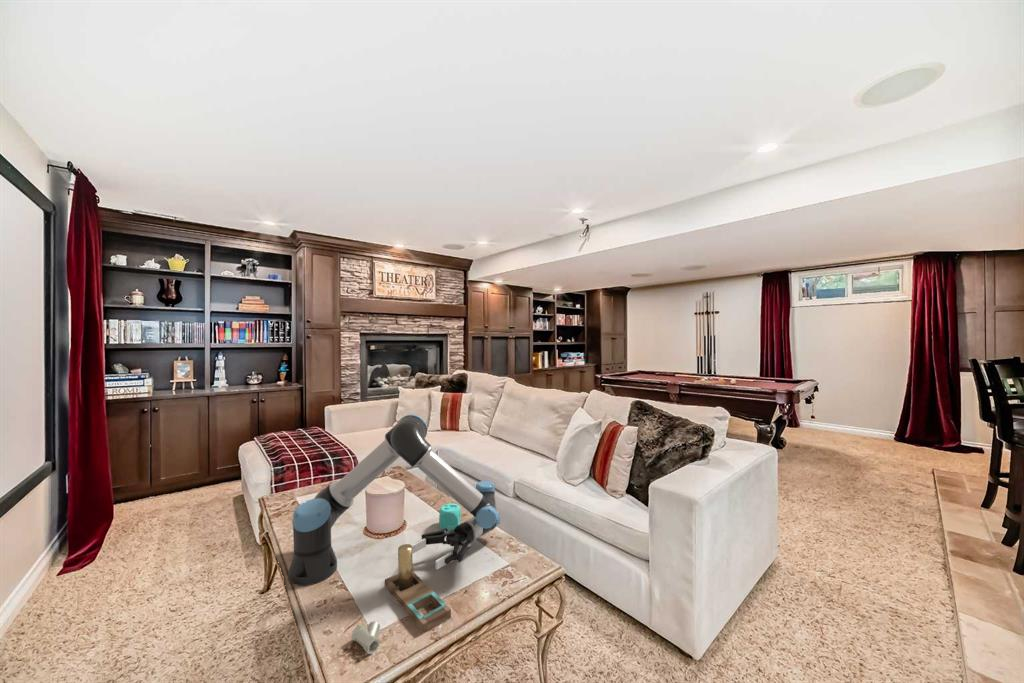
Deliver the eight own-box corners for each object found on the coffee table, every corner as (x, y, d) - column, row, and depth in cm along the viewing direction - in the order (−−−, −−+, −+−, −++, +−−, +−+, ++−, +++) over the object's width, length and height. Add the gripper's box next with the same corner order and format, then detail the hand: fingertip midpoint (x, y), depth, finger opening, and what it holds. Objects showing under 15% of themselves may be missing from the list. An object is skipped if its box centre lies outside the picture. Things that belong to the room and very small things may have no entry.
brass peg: (396, 589, 129) (395, 547, 128) (409, 583, 132) (408, 542, 131) (402, 596, 126) (401, 553, 125) (415, 590, 129) (414, 548, 128)
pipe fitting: (373, 629, 113) (351, 642, 108) (374, 615, 113) (352, 627, 108) (390, 643, 108) (367, 657, 103) (390, 629, 108) (368, 642, 103)
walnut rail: (384, 586, 130) (384, 578, 130) (410, 575, 136) (410, 567, 136) (423, 633, 111) (423, 623, 111) (450, 617, 117) (450, 608, 116)
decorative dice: (458, 530, 166) (458, 512, 165) (439, 530, 166) (438, 511, 166) (461, 521, 174) (460, 503, 173) (442, 521, 174) (442, 503, 174)
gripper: (492, 553, 142) (448, 583, 126) (445, 530, 158) (400, 555, 141) (492, 533, 142) (447, 560, 125) (445, 512, 157) (400, 534, 141)
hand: (422, 557), depth 133 cm, fingers open, 13 cm apart
